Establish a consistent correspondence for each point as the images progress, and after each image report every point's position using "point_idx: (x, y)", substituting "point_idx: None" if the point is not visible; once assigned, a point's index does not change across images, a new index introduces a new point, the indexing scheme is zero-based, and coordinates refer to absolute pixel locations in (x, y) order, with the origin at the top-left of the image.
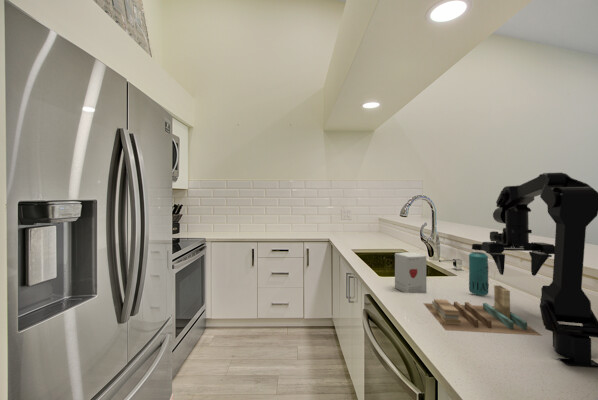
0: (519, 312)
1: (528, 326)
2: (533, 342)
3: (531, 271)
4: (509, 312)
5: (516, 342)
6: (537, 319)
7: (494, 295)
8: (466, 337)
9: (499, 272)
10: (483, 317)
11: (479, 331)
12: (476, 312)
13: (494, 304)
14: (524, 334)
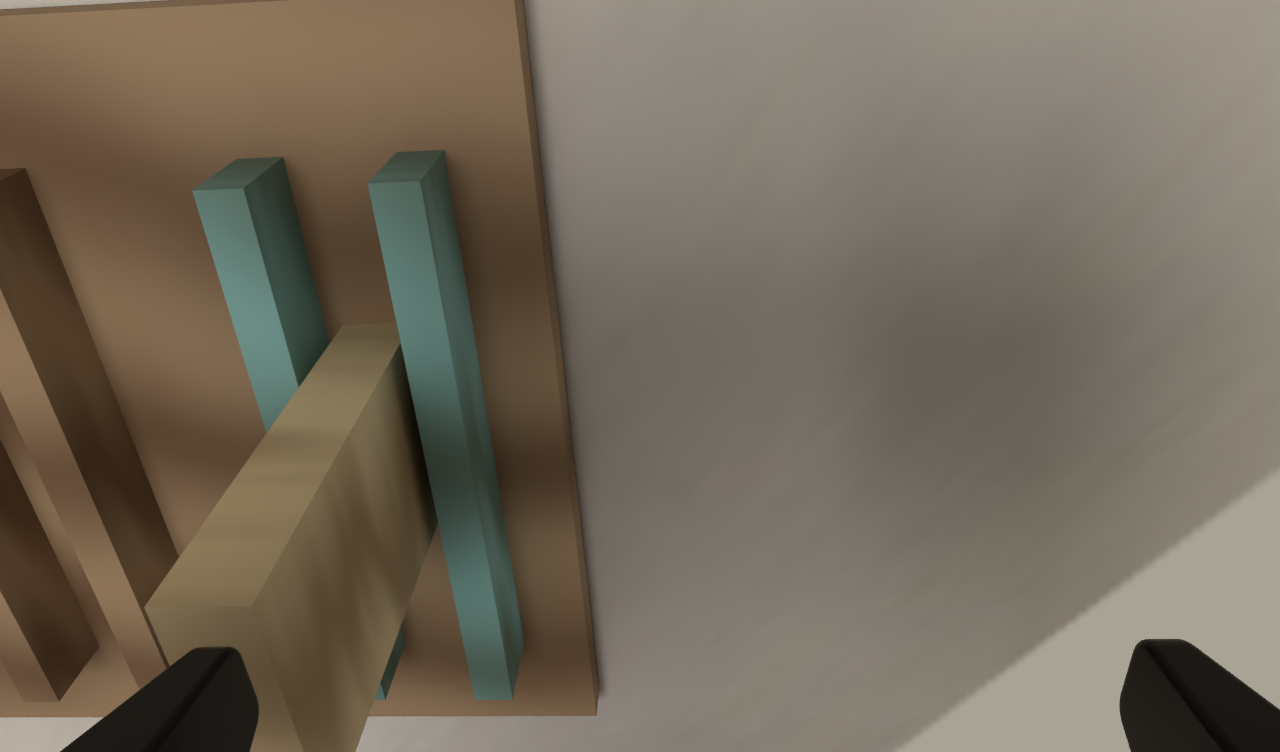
0: (792, 60)
1: (576, 583)
2: (495, 733)
3: (1187, 723)
4: (416, 566)
5: (366, 745)
6: (873, 286)
7: (237, 479)
8: (14, 722)
9: (164, 676)
10: (119, 639)
11: (97, 714)
12: (66, 510)
13: (294, 394)
14: (453, 714)
